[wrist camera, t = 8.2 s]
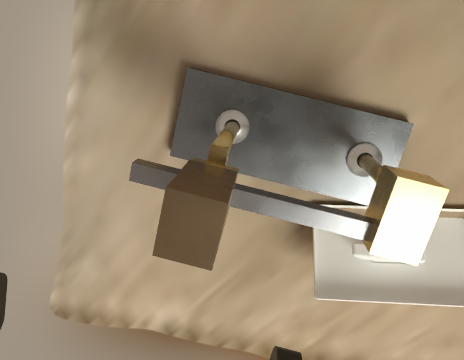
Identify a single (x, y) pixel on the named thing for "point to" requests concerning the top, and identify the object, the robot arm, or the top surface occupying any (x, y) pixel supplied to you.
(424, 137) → the top surface
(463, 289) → the light switch
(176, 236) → the block
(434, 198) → the dividers frame
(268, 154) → the bolt plate
